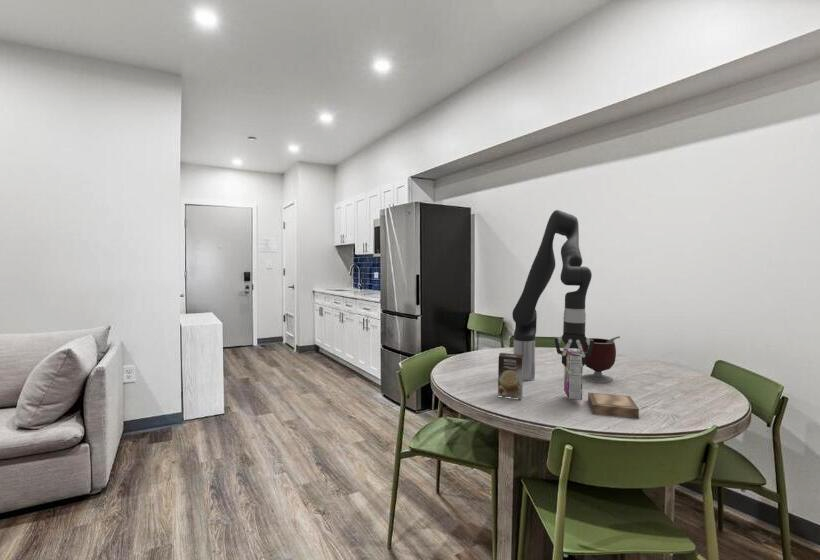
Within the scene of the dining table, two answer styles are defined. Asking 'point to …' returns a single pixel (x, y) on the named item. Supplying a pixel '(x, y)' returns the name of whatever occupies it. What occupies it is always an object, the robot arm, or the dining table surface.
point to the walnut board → (613, 405)
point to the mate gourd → (600, 359)
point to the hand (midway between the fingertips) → (573, 365)
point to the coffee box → (510, 375)
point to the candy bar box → (573, 374)
